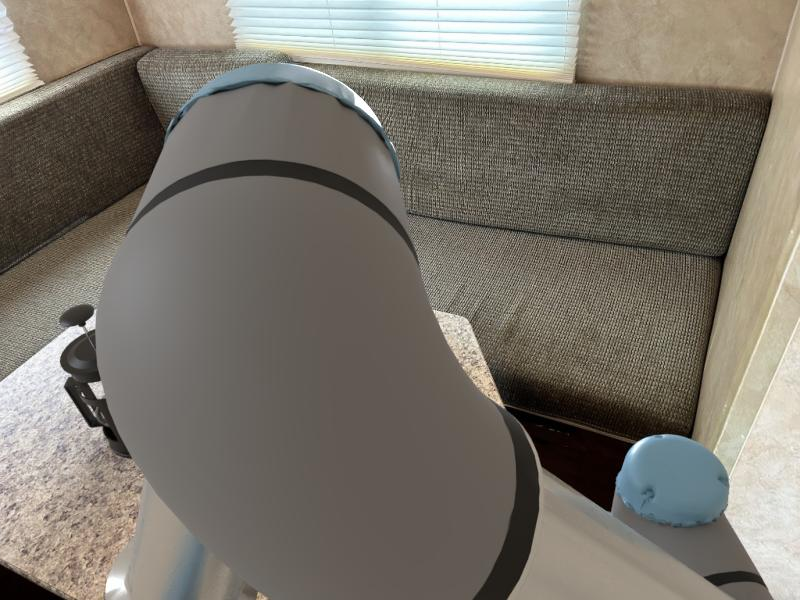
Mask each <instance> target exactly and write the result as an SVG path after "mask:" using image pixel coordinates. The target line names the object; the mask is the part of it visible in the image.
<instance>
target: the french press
mask: <svg viewBox="0 0 800 600" xmlns="http://www.w3.org/2000/svg"><path fill="white" fill-rule="evenodd" d="M95 313H96V308H95V307H94V306H93V305H92V304H89V303H81V304H77V305H73V306H71V307H70V308H68V309H67V310H65V311H64V312H63V313H62V314H61V315H60V316H59V319H58V321H59V324H60V325H61V326H62V327H67V328H70V327H71V328H72V327H77V326H78V327H79V328H82V330H83V331H84V333H82V334H80V335H79V336H77V337H75V338H74V339H73V340H72V341H70V342H69V344H67V345H66V346H65V348H64V349H63V351H62V352H61V354H60V356H59V365H60V367H61V369H62V370H63V371H64V372H65V373H67V374H68V375H70V376H68V377H67V379H66V381H65V383H64V385H63V389H64V391H66V394H67V395H68V396H69V398H70V400H71V401H72V403H73V404H74V406H75V407H76V409H77V410H78V412H79V414H80V415H81V417H82V418H83V419H84V422H85V423H86V424H87V426H88V427H89V428H91V429H93V428H94V429H95V428H101V430H102V433H103V435H104V437H105V438H106V440H107V442H108V445H109V449H110V450H111V451H112V452H113V454H115V455H116V456H119V457H120V458H126V459H132V457H131V455H130V453H129V451H128V450H127V448H126V446H125V444H124V442H123V440H122V438H121V437H120V435H119V433H118V431H117V428H116V426H115V423H114V421H113V418H112V416H111V414H110V411H109V409H108V405H107V401H106V397H105V395H103V397H102V398H98V397H97V396H96V394H95V392H94V391H93V389H92V388H91V386H90V385H89V384H94V383H99V382H101V378H100V374H99V370H98V366H97V355H96V334H95V328H94V329H91V330H88V329H87V327H86V325H87V322H88V321H89V320H90V319H91V318H93V316H94V314H95ZM89 406H90V407H91V408H90V407H89ZM93 412H94V413H93ZM94 414H95V415H94Z"/></svg>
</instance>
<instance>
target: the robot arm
mask: <svg viewBox="0 0 800 600" xmlns="http://www.w3.org/2000/svg"><path fill="white" fill-rule="evenodd" d="M400 181H401V169H400V161H399V157H398V155H397V153H396V148H395V146H394V144H393V143H392V141H391V139H390V138H389V136H388V134H387V133H386V131H385V130H384V128H383V126H382V125H381V122H380V120H379V119H378V117H377V116H376V114H375V113H374V111H373V110H372V109H371V107H370V106H369V105H368V104H367V103H366V101H364V99H363V98H362V97H360V96H359V95H358V94H357V93H356V91H354V90H353V89H351V88H350V87H349V86H347V85H346V84H345V83H343V82H341V81H339V80H338V79H336V78H334V77H332V76H330V75H328V74H326V73H324V72H321V71H320V70H316V69H313V68H310V67H307V66H303V65H298V64H293V63H285V62H259V63H253V64H248V65H243V66H240V67H237V68H233V69H231V70H228V71H225V72H224V73H222V74H220V75H217V76H216V77H214V78H213V79H211V80H210V81H208V82H207V83H206V84H204V85H203V86H201V88H200V89H198V90H197V92H195V93H194V94H193V96H192V97H191V98H190V99H188V100H187V101H186V103H184V104H183V105H182V106H181V107H180V108H179V109H178V112H177V113H176V115H175V116H174V117H172V119H171V121H170V123H169V125H168V127H167V130H166V134H165V137H164V141H163V148H162V149H161V152H160V155H159V157H158V159H157V162H156V164H155V166H154V168H153V171H152V174H151V176H150V178H149V180H148V181H147V185H146V186H145V188H144V189H145V190H144V192H143V194H142V196H141V199H140V201H139V203H138V205H137V208H136V210H135V213H134V215H133V217H132V220H131V222H130V224H129V227H128V229H127V230H126V233H125V236H124V238H123V239H122V241H121V243H120V244H119V245H118V248H117V250H116V251H115V253H114V256H113V258H112V260H111V262H110V264H109V267H108V269H107V271H106V273H105V277H104V279H103V283H102V288H101V291H100V296H99V298H98V299H99V300H98V303H97V306H96V309H95V327H94V329H95V334H96V355H97V366H98V370H99V374H100V378H101V381H100V382H101V385H102V390H103V393H104V396H105V397H106V401H107V405H108V409H109V411H110V414H111V416H112V418H113V421H114V423H115V426H116V428H117V431H118V433H119V435H120V437H121V438H122V440H123V442H124V444H125V446H126V448H127V450H128V451H129V453H130V455H131V457H132V458H131V459H132V460H133V462H134V463H135V464H136V466H137V468H138V469H139V471H140V472H141V474H142V475H143V481H142V487H141V493H140V494H141V495H140V501H139V507H138V513H137V519H136V525H135V532H134V536H133V537H132V538H130V540H129V542H128V543H127V544H126V545H125V546H124V548H122V550H121V551H120V552H119V554H118V555H117V556H116V558H115V560H114V561H113V563H112V566H111V567H110V570H109V573H108V576H107V579H106V583H105V588H104V596H103V600H257V599H258V594H261V595H263V597H265V598H267V599H268V600H775V599H774V597H773V596H772V594H771V592H770V591H769V587H768V586H767V584H766V583H765V581H764V578H763V577H762V575H761V573H760V572H759V570H758V568H757V567H756V565H755V563H754V561H753V560H752V557H750V555H749V552H748V551H747V549H746V547H745V546H744V545H743V542H742V541H741V540H740V538H739V536H738V535H737V533H736V531H735V529H734V528H733V526H732V524H731V523H730V521H729V519H728V518H727V516H726V514H725V511H726V510H727V508H728V507H729V504H728V502H729V496H730V478H729V473H728V471H727V469H726V466H725V465H724V464H723V462H722V461H721V460H720V459H719V457H718V456H717V455H716V454H715V453H714V452H712V450H710V449H709V448H708V447H706V446H704V445H703V444H701V442H699V441H695V440H694V439H692V438H688V437H686V436H682V435H677V434H670V433H669V434H668V433H664V434H654V435H651V436H646V437H643V438H642V439H640V440H638V441H637V442H635V443H634V444H633V445H632V446H631V447H630V448H629V450H628V451H627V453H626V455H625V458H624V461H623V462H622V467H621V470H620V471H619V472H618V473H617V476H616V477H615V480H616V481H615V490H614V494H613V495H614V496H613V500H612V507H611V511H607V510H605V509H604V508H602V507H601V506H599V505H598V504H596V503H595V502H594V501H592V500H591V499H589V498H588V497H586V496H585V495H583V494H582V493H581V492H579V491H577V490H576V489H574V488H573V487H572V486H571V485H569V484H567V483H566V482H564V481H563V480H561V479H560V478H559V477H557V476H556V475H555V474H553V473H552V472H550V471H548V470H547V469H545V468H544V467H542V464H541V461H540V457H539V454H538V451H537V449H536V447H535V444H534V442H533V440H532V438H531V436H530V435H529V433H528V431H527V430H526V429H525V427H524V425H522V423H521V422H520V421H519V420H518V419H517V417H515V416H514V415H513V414H512V413H511V412H509V411H508V410H507V409H505V408H504V407H502V406H501V405H499V404H498V403H497V402H495V401H494V400H493V399H491V397H489V396H487V395H486V394H484V392H483V391H482V390H480V388H479V387H477V384H475V382H474V381H473V380H472V378H471V377H470V376H469V375H468V373H467V372H466V370H465V369H464V367H463V365H462V364H461V362H460V361H459V359H458V358H457V356H456V354H455V352H454V351H453V349H452V348H451V346H450V344H449V343H448V341H447V339H446V336H445V334H444V332H443V330H442V328H441V325H440V322H439V321H438V319H437V316H436V314H435V312H434V310H433V307H432V305H431V302H430V301H431V300H430V298H429V295H428V292H427V289H426V286H425V282H424V278H423V275H422V271H421V266H420V261H419V257H418V254H417V249H416V245H415V242H414V238H413V233H412V230H411V226H410V221H409V218H408V214H407V209H406V206H405V201H404V198H403V194H402V190H401V185H400Z"/></svg>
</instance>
